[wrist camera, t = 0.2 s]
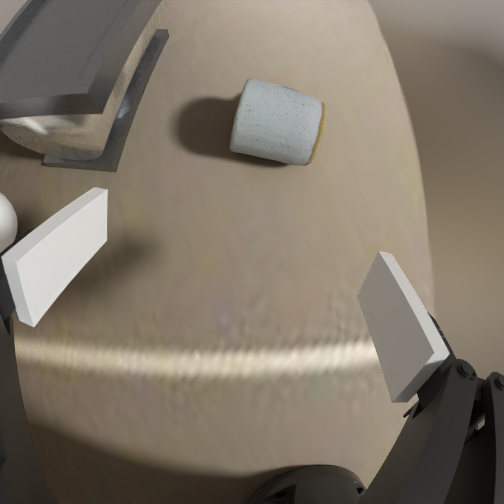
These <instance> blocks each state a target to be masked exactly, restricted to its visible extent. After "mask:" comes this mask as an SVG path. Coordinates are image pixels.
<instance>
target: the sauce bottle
mask: <svg viewBox="0 0 504 504" xmlns="http://www.w3.org/2000/svg"><path fill="white" fill-rule="evenodd" d="M17 227H18V224H17V216H16V213H15V211H14V208H13V206H12V205H11V203H10V202H9V201H8V199H7V198H6V197H5V196H4V195H3V194H2V193H0V253H1V252H2V251H3V250H4V249H6V248H7V247H8V246H9V245H10V244H12V243H13V242H14V240H15V237H16V234H17Z"/></svg>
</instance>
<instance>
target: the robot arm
mask: <svg viewBox="0 0 504 504" xmlns="http://www.w3.org/2000/svg"><path fill="white" fill-rule="evenodd" d="M107 191H108V190H106V189H101V188H96V187H94V188H92V189H91V190H89V191H88V192H86V193H85V194H83V195H82V196H80V197H79V198H77V199H76V200H74V201H73V202H71V203H70V204H69V205H67V206H66V207H64V208H63V209H61V210H60V211H59V212H57V213H56V214H54V215H53V216H52V217H50V218H49V219H48V220H46V221H45V222H44V223H42V224H41V225H40V226H38V227H36V228H33V229H31V230H29V231H27V232H25V233H24V234H23V235H22V236H20V237H19V239H17V240H15V241H14V242H13V244H10V245H9V246H8V247H7V248H6V249H4V250H3V251H2V252H1V253H0V504H59V503H58V502H57V500H56V499H55V498H54V496H53V495H52V493H51V492H50V490H49V487H48V485H47V483H46V480H45V477H44V475H43V472H42V469H41V466H40V463H39V460H38V457H37V454H36V451H35V448H34V444H33V441H32V437H31V434H30V430H29V426H28V422H27V418H26V414H25V409H24V405H23V400H22V395H21V389H20V383H19V377H18V370H17V363H16V355H15V345H14V333H13V321H12V318H11V315H10V314H11V313H12V312H13V311H14V310H15V308H16V311H17V314H18V317H19V320H20V321H22V322H24V323H26V324H28V325H30V326H32V327H35V325H36V324H37V323H38V321H39V320H40V319H41V318H42V316H43V315H44V314H45V312H46V311H47V310H48V309H49V307H50V306H51V305H52V303H53V302H54V301H55V300H56V298H57V297H58V296H59V295H60V294H61V292H62V291H63V290H64V289H65V288H66V286H67V285H68V284H69V283H70V282H71V280H72V279H73V278H74V277H75V276H76V275H77V273H78V272H79V271H80V270H81V269H82V268H83V267H84V265H85V264H86V263H87V262H88V261H89V260H90V259H91V258H92V256H93V255H94V254H95V253H96V252H97V251H98V250H99V249H100V248H101V247H102V246H103V245H104V243H105V242H106V241H107ZM357 297H358V300H359V303H360V306H361V308H362V311H363V314H364V317H365V319H366V322H367V325H368V328H369V331H370V334H371V337H372V340H373V343H374V346H375V349H376V352H377V355H378V358H379V361H380V364H381V367H382V371H383V374H384V377H385V380H386V384H387V387H388V390H389V394H390V397H391V401H392V402H408V401H409V400H410V399H411V398H412V397H413V396H414V395H415V394H416V393H417V395H418V398H419V400H418V401H417V402H416V403H415V404H414V405H413V406H412V407H411V408H410V409H409V410H408V411H407V412H406V413H405V414H404V416H403V417H404V418H405V417H406V416H407V415H409V414H410V415H409V417H408V419H407V421H406V423H405V425H404V427H403V429H402V431H401V433H400V435H399V436H398V438H397V440H396V442H395V444H394V446H393V448H392V449H391V451H390V453H389V455H388V456H387V458H386V460H385V461H384V463H383V465H382V466H381V468H380V470H379V471H378V473H377V475H376V476H375V478H374V479H373V481H372V482H371V484H370V485H369V487H368V488H367V490H366V488H365V486H364V485H363V483H362V482H361V480H360V479H359V478H358V476H357V475H356V474H354V473H353V472H351V471H350V470H347V469H345V468H342V467H337V466H328V465H320V466H310V467H304V468H300V469H296V470H293V471H289V472H287V473H284V474H282V475H279V476H277V477H275V478H273V479H272V480H270V481H268V482H267V483H265V484H264V485H263V486H261V487H260V488H259V489H258V490H257V491H256V492H255V493H254V494H253V495H252V497H251V498H250V500H249V502H248V504H504V376H503V375H501V374H499V373H498V372H492V373H491V374H490V375H489V377H487V379H486V380H484V379H481V378H478V377H477V374H476V372H475V370H474V369H473V367H472V366H471V365H470V364H469V363H467V362H466V361H464V360H462V359H456V357H455V355H454V353H453V351H452V349H451V348H450V346H449V344H448V342H447V340H446V338H445V337H444V335H443V333H442V331H441V330H440V327H439V326H438V324H437V322H436V320H435V319H434V318H433V317H432V316H431V315H430V314H429V313H428V312H427V311H426V309H425V307H424V306H423V304H422V302H421V300H420V299H419V297H418V295H417V294H416V292H415V291H414V289H413V287H412V286H411V284H410V282H409V281H408V279H407V278H406V276H405V274H404V273H403V271H402V270H401V268H400V267H399V265H398V264H397V262H396V260H395V259H394V257H393V256H392V254H389V253H385V252H381V251H378V253H377V255H376V257H375V259H374V262H373V264H372V266H371V268H370V270H369V272H368V274H367V277H366V279H365V281H364V283H363V285H362V287H361V289H360V291H359V293H358V295H357ZM483 419H485V424H484V426H483V427H482V428H480V429H479V430H478V424H479V423H480V422H481V421H482V420H483Z"/></svg>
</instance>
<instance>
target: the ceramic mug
mask: <svg viewBox="0 0 504 504" xmlns="http://www.w3.org/2000/svg"><path fill="white" fill-rule="evenodd" d="M326 123H327V109H326V106H325V104H324V103H323V102H321V101H320V100H318V99H316V98H314V97H312V96H310V95H307V94H304V93H301V92H300V91H298V90H296V89H294V88H291V87H288V86H285V85H280V84H271V83H268V82H264V81H261V80H257V79H253V78H249V79H248V80H247V81H246V83H245V85H244V88H243V91H242V95H241V97H240V101H239V104H238V107H237V111H236V114H235V118H234V125H233V128H232V134H231V140H230V150H231V151H233V152H238V153H243V154H248V155H252V156H257V157H262V158H266V159H271V160H276V161H279V162H283V163H287V164H292V165H302V166H305V165H308V164H310V163H311V162H312V161H313V160H314V158H315V156H316V155H317V153H318V150H319V148H320V145H321V142H322V139H323V136H324V132H325V128H326Z"/></svg>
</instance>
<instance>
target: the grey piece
mask: <svg viewBox="0 0 504 504" xmlns="http://www.w3.org/2000/svg"><path fill="white" fill-rule="evenodd" d="M166 10H167V0H28V1H27V2H26V3H25V4H24V5H23V6H22V7H21V9H20V10H19V11H18V12H17V14H16V15H15V16H14V17H13V19H12V20H11V21H10V22H9V24H8V25H7V27H6V28H5V29H4V30H3V32H2V33H1V34H0V129H1V131H2V132H3V133H4V134H5V135H6V136H7V137H9V138H10V139H11V140H13V141H14V142H16V143H18V144H20V145H22V146H24V147H26V148H28V149H30V150H33V151H36V152H39V153H42V154H45V157H44V160H43V163H44V164H46V165H47V166H49V167H63V168H76V169H88V170H99V171H109V172H116V170H117V167H118V163H119V160H120V157H121V154H122V151H123V147H124V144H125V141H126V138H127V135H128V132H129V130H130V127H131V124H132V121H133V118H134V116H135V113H136V110H137V108H138V105H139V103H140V100H141V98H142V95H143V93H144V90H145V88H146V85H147V83H148V81H149V78H150V76H151V74H152V71H153V69H154V67H155V65H156V63H157V60H158V58H159V56H160V54H161V52H162V50H163V48H164V46H165V44H166V42H167V40H168V38H169V34H168V30H167V29H157V28H158V26H159V24H160V23H161V21H162V19H163V17H164V15H165V13H166Z"/></svg>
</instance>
